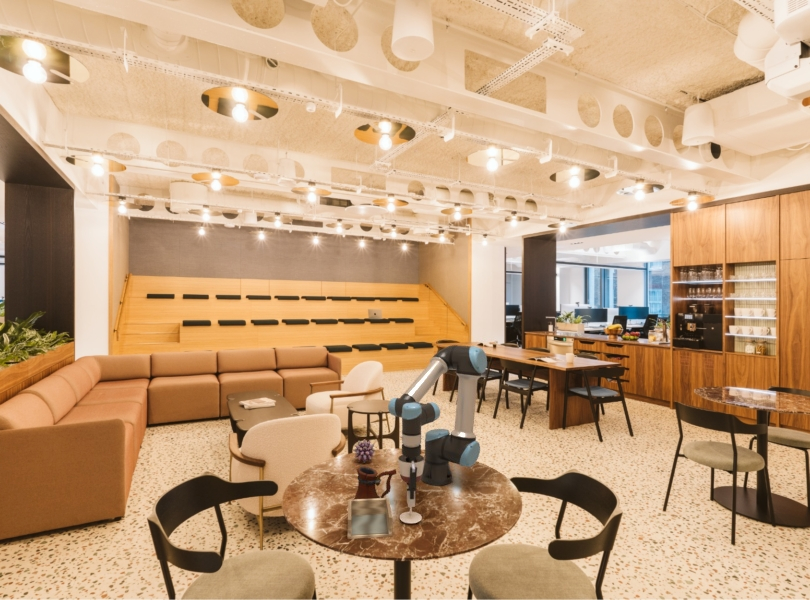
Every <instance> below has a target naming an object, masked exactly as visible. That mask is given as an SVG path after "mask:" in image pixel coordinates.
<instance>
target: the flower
mask: <svg viewBox="0 0 810 600" xmlns="http://www.w3.org/2000/svg"><path fill="white" fill-rule="evenodd" d="M357 442H358V443H357V444H358V445H356V444H355V445H354V447H356V448H354V449H353V452H354V454H355V455H354V458H358V460H357V461H358V462H360V461H363V463H366V461H369V462H371V460H372V457H373V458H375V455H374V454H375V452H376V449H374V447H375V443H371V440H368V441H366V438H365V439H363V440H362V441H361V440H358V441H357Z"/></svg>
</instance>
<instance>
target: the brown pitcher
mask: <svg viewBox="0 0 810 600" xmlns="http://www.w3.org/2000/svg"><path fill="white" fill-rule="evenodd" d="M356 472H357V481H358V483H357V488H356V489H357V490H356V493H355V497H354V498H353V499H352V500H354V499H376V498H385V497H386V495H388V494H389V493H390V492H391V489H392V488H391V487H392V486H391V480H392V477H393V475H394V476H395V475H397V469H395V468H394V469H392V470H389V471H387V470H386V471H383V472H379V474H378V471H377V470H375V469H374V468H372V467H369V466H365V465H363V466H359V467H357V468H356ZM383 476H387V479H386V481H385V487H386V488H385V491H383V492H382V494H381V496H379V494H378V493H377V490H376V486H377V487H378V486H380V484H381V482H382V479H381V478H383Z"/></svg>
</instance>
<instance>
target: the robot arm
mask: <svg viewBox="0 0 810 600" xmlns="http://www.w3.org/2000/svg"><path fill="white" fill-rule="evenodd" d="M487 360H488V357H487V353H486V351H484V349H483V348H482V347H478V346H473V345H472V346H470V345H467V346H466V345H458V344H457V345H456V344H453V345H448V346H445V347H444V348H442V349H441V350H439V351H437V352H436V353H435V354H434V355H433V356H432V357H431V359H430V360H429V364H428V365H426V367H425V368H424V369H423V371H421V373H420V374H419V375H418V376H417V377H416V379H415V380H414V381H413V382H412V383H411V384H410V386H409V387H408V388H407V389H406V390H405V391H404V392H403V394H402V395H401V396H400V397H393V398H392V399H390V400H389V403H388V407H387V410H388V413H389V414H390V415H392V416H395V417H396V418H401V435H400V439H401V455H404V456H406V457H407V458H406V463H417V460H416V457H417V456H419V455H421V453H422V445H421V444H422V427H423V426H425V425H427V424H430V423H434V422H435V421H437V420H438V419H439V418H440V416H441V409H440V406H439V405H438V404H436V403H435V402H427V403H424V402H422V403H421V402H420V401H422V399H423V398H424V396H425V395H426V394H427V393H428V392H429V390H431V388H433V385H434V384H435V383H436V382H437V381H438V379H439V378H440V377H441V376H442V374H443V375H444V374H446V373H448V371H450V370H456V371H455V373H456V375H457V377H458V386H457V397H456V398H457V399H456V409H455V419H454V429H453V430H452V431H451V432H450V430H449V429H446V428H434V429H429V430H428V431H427V432H426V433H425V437H424V467H423V473H422V477H421V479H420V480H421V481H422V482H423V483H425V484H427V485H431V486H445V485H449V484H450V483H452V481H453V473H452V469H451V466H450V463H451V464H452V463H453V464H456V465H459V466H461V467H467V468H470V467H472V466H474V465H475V464H476V462H477V461H478V459H479V457H480V453H481V446H480V442H478V441H477V440H476V439H477V435H476V434H475V432H474V426H475V425H474V424H475V414H476V413H475V412H476V400H477V392H478V391H477V388H478V380H479V379H480V378H481V377H482V374H483V373H485V372H486V371H487V367H488V361H487ZM416 476H417V467H415V466H414V464H412V467H410V483H409V484H408V483H406V504H407V507H408V508H410V507H412V508H414V507H416V491H417V482H416Z"/></svg>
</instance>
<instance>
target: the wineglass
mask: <svg viewBox="0 0 810 600" xmlns="http://www.w3.org/2000/svg"><path fill="white" fill-rule="evenodd" d="M406 458H407V457H406V456H404V455H403V454H401V455H400V456H398V458H397V459H398V470H399V471H398V472H399V476H400V478H401V480H402V481H403V482H404V483H406V484H407V483H408V484H409V483H410V467H412V464H414V466H415V467H417V476H416V483H418V482H419V481H420V480H421V477H422V473H423V467H424V463H425V456H423V455H421V454H420V455H419V456H417V457H416V460H417V463H406ZM399 519H400V520H401V522H403V523H405V524H416V523H419V522H420V521H422V519H423V517H422V514H420V513H419V512H416V511H413V507H409V511H405V512H402V513H401V514H400V515H399Z"/></svg>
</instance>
